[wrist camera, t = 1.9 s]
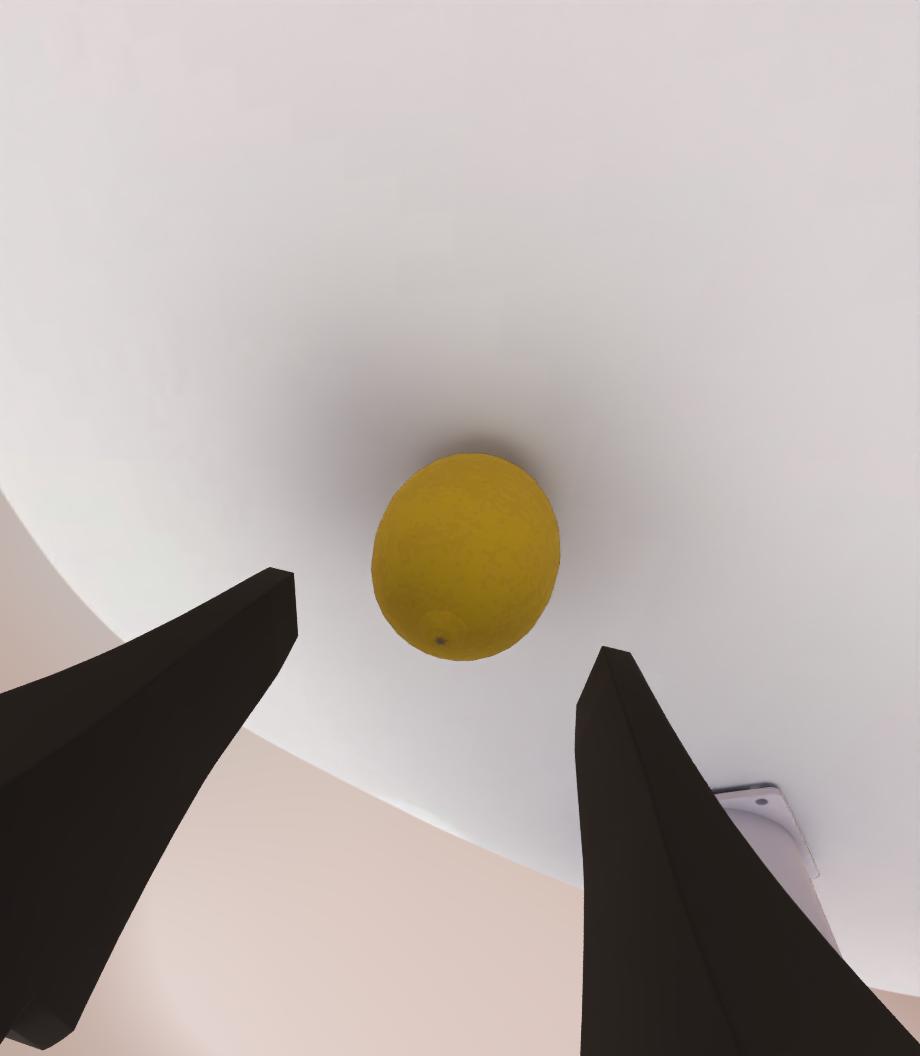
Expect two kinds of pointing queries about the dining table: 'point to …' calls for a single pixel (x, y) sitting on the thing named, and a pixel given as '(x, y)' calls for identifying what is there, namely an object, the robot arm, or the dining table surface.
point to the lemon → (466, 557)
